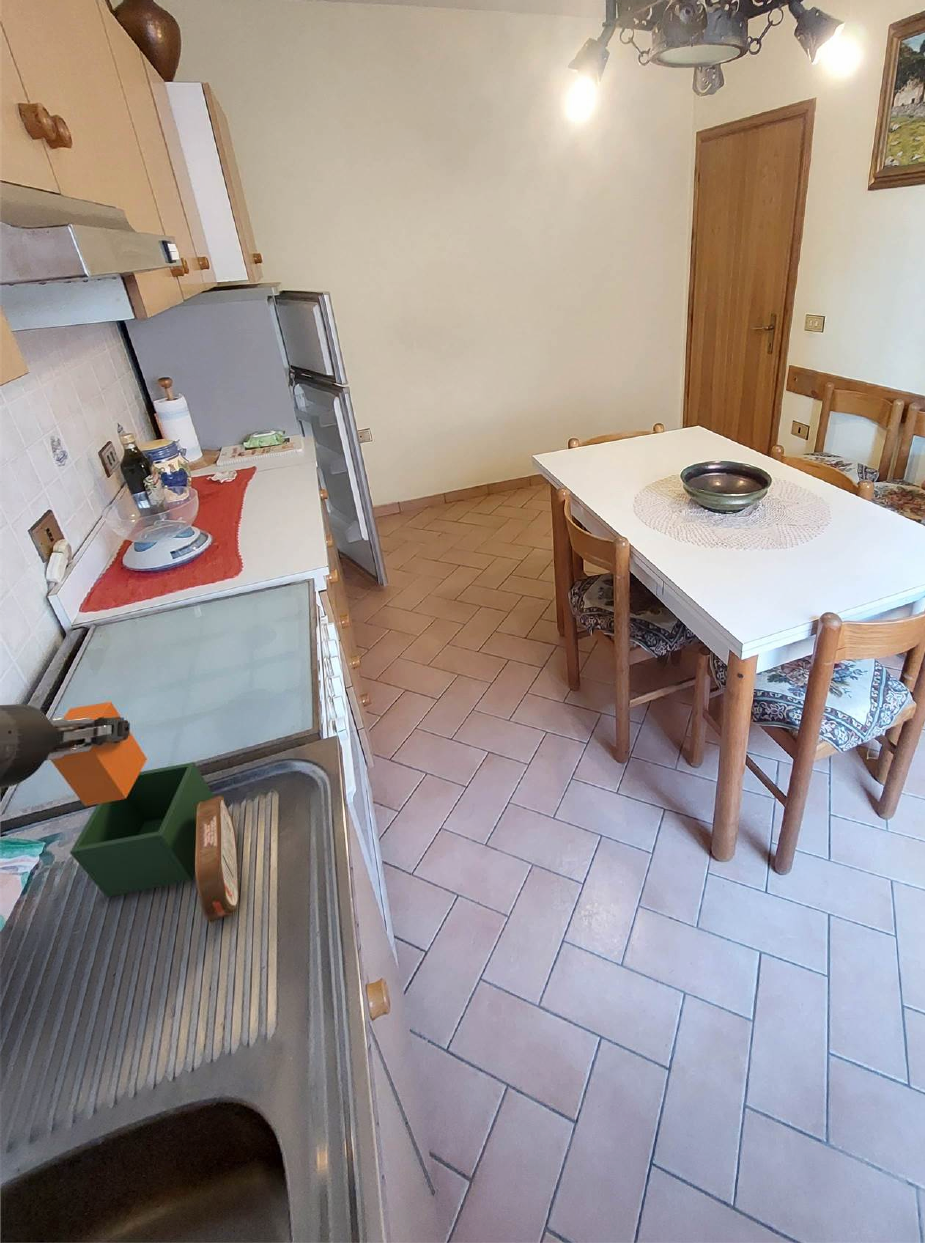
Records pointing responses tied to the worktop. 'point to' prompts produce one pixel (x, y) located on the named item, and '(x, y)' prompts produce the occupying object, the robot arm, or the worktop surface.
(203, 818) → the tin
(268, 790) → the worktop surface
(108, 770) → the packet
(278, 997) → the worktop surface
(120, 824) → the waste bin
